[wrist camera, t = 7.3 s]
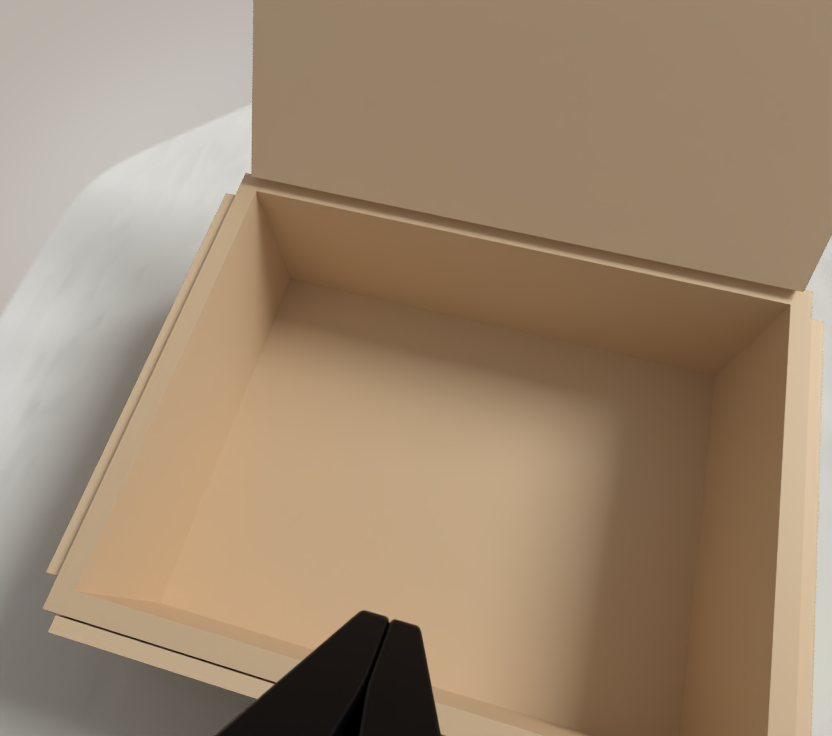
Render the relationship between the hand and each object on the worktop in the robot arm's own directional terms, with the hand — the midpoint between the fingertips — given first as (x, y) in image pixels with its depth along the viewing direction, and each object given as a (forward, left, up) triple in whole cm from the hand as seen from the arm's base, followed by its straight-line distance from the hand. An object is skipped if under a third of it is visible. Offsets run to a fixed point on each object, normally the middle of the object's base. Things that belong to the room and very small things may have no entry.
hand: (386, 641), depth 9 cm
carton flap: (+11, +11, -3) cm, 16 cm away
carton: (+4, +4, -13) cm, 14 cm away
